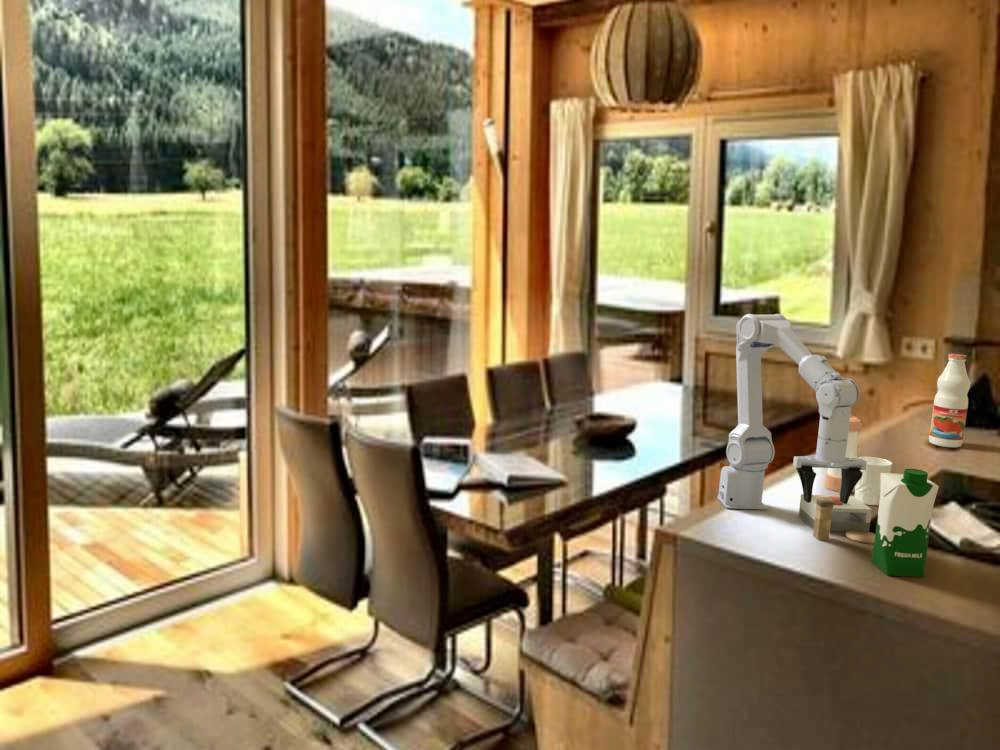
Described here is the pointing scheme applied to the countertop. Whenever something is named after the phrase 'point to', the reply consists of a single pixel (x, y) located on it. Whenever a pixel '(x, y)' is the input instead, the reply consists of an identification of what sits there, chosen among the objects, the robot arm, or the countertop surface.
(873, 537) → the coaster
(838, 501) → the button
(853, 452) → the pepper shaker
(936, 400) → the fruit juice
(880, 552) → the milk carton
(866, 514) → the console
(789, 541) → the countertop surface
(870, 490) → the white cup
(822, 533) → the stick
